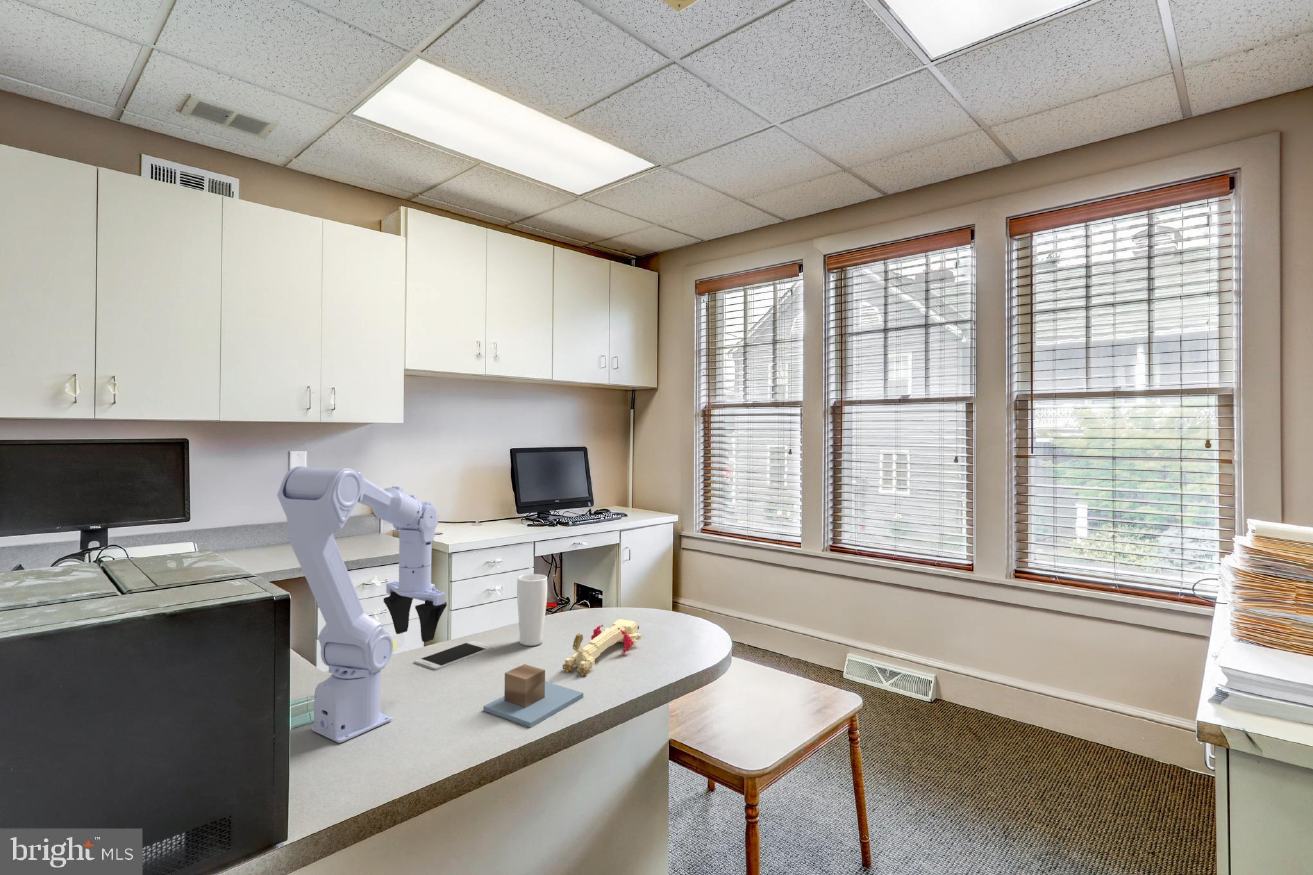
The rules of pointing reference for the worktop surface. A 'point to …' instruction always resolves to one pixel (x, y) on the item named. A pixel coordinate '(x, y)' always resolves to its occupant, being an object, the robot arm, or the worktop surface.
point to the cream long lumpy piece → (601, 644)
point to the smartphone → (453, 655)
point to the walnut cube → (524, 685)
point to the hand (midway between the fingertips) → (414, 636)
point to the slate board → (535, 705)
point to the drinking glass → (531, 608)
